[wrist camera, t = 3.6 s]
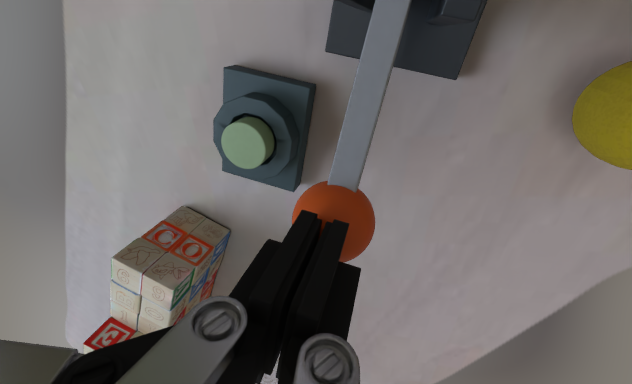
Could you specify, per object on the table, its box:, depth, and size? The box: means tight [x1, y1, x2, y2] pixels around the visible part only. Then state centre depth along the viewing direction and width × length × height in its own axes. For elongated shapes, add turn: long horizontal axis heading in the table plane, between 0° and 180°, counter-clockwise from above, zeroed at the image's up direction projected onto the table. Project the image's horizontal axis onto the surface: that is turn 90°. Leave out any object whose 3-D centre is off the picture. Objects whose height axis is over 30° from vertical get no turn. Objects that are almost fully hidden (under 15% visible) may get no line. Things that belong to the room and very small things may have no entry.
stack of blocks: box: [83, 206, 230, 354], centre depth 33 cm, size 21×6×12 cm, turn 157°
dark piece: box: [214, 65, 316, 192], centre depth 25 cm, size 9×7×4 cm
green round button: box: [221, 117, 275, 169], centre depth 23 cm, size 4×4×2 cm
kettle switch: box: [292, 0, 412, 262], centre depth 11 cm, size 13×3×3 cm, turn 170°
